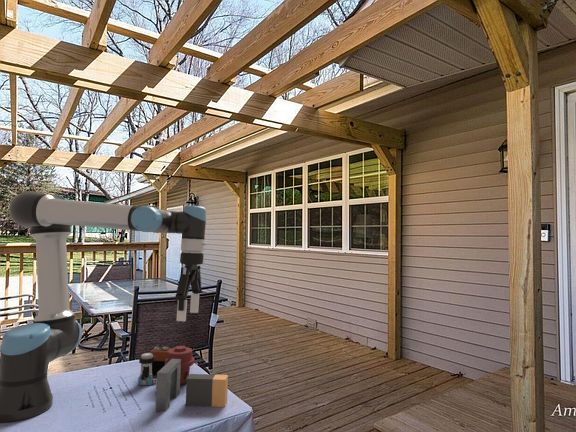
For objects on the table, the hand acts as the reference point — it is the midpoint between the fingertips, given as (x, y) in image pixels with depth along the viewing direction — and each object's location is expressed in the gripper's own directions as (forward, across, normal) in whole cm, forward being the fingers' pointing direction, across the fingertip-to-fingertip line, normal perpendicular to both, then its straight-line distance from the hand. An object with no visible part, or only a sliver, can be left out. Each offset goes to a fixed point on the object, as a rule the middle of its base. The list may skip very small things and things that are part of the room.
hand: (187, 316), depth 122 cm
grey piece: (+25, -6, +3) cm, 26 cm away
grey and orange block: (+25, -6, -9) cm, 27 cm away
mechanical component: (+25, +9, +4) cm, 27 cm away
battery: (+26, +16, +14) cm, 34 cm away
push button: (+26, +8, +15) cm, 31 cm away
